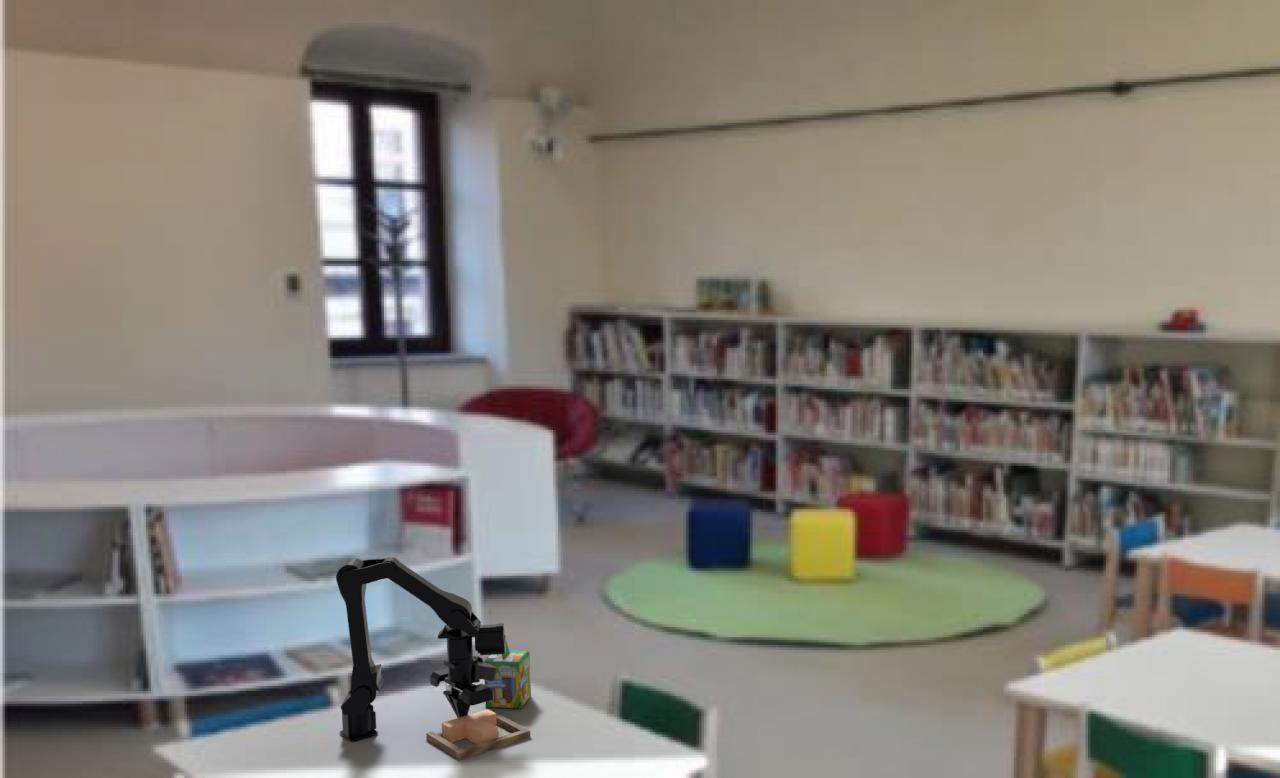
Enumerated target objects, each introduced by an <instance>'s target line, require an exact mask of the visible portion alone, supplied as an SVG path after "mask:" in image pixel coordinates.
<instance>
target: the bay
mask: <svg viewBox="0 0 1280 778" xmlns="http://www.w3.org/2000/svg"><path fill="white" fill-rule="evenodd" d="M494 713H496V723H497V725H498V724H499V725H498V726H500V727H502V728H504V729H506V730H507V731H509V732H511V733H508V734H505V735H502V736H498V738H496V739H493V740H489V741H486V742H483V743H480V744H474V745H471V746H467V747H464V748H461V747H460V746H457V745H456V744H454V743H453V742H452V743H451V742H449V741H448V740H446V739H444V738H443V737H442V735H440V734H438V733H436V732H434V731H432V730H430V731H429V732H426V734H425V735H426V739H425V740H427V741H428V742H430V743H431V744H433V745H435V746H436V747H438V748H439V749H441V750H442V751H444V752H446V753H447V754H449V755H450V756H451V757H454V758H455V759H457V760H459V761H462V760H464V759H468V758H470V757H473V756H476V755H480V754H483V753H486V752H489V751H492V750H495V749H498V748H502V747H504V746H507V745H511V744H513V743H517V742H520V741H523V740H526V738H527V739H530V738H531V730H530V729H528V728H526V727H524V726H522V725H520V724H519V723H517V722H515V721H512V720H511V719H509V718H508V717H506V716H504V715H502V714H500V713H498V712H496V711H495V712H494Z"/></svg>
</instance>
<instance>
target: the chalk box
mask: <svg viewBox="0 0 1280 778" xmlns="http://www.w3.org/2000/svg"><path fill="white" fill-rule="evenodd" d="M530 658H531V657H530V650H529V651H528V650H516V649H510V648H509V645H508V643H507V641H506V652H505V654H498V655H487V657H486V658H484V659H483V662H485V663H488V664H490V665H492V666H495V667H497V670H496V674H495V678H494V681H489V680H484V679H483V680H484V685H486V686H488V687H490V688H491V689H492V690H494V699H493V700H490V701H487V702H485V708H498V709H499V708H502V709H503V708H504V709H522V708H523V706H524V705H525V704H526V703H527V702H528V700H529V699H530V698H531V697H532V686H531V684H532V683H531V659H530Z"/></svg>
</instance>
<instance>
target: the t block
mask: <svg viewBox="0 0 1280 778" xmlns="http://www.w3.org/2000/svg"><path fill="white" fill-rule="evenodd" d="M496 713H497V712H496ZM496 713H495V712H494V711H492V710H491V709H488V708H487V709H484V710H481V711H477V712H473V713H470V714H468V715H467V716H463V717H460V718H457V717H456V718H455V719H450V720H448V721H443V722H442V723H441V737H443V738H444V739H446V740H448V741H449V742H451V743H452V744H453V743H454V742H457V741H461V740H463V739H467V740H469V741H471V742H472V743H474V744H475V745H477V744H480V743H483V742H486V741H489V740H493V739H496V738H499V728H498V726H497V725H498V724H497V723H496Z"/></svg>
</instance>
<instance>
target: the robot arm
mask: <svg viewBox="0 0 1280 778" xmlns="http://www.w3.org/2000/svg"><path fill="white" fill-rule="evenodd" d="M386 579H388V580H390V581H392V582H393V583H394V584H396V585H397V586H398V587H400V588H402V589H403V590H405V591H406V592H407V593H409V594H410V595H411V596H413V597H414V598H416V599H418V600H419V601H421V602H422V603H424V604H426V606H428V607H429V608H431V609H432V611H434V613H435V614H436V615H437V617H438V618H439V619H440V620H441V621H442V622H443V623H444V624H445V625H444V626H443V628H441V630H440V631H439V632H438V634H437V639H438V640H443V639H446V653H447V656H446V658H447V659H444V660H443V665H444V666H446V668H442V669H438V670H434V671H433V672H432V673H431V675H430V676H429V683H430V685H431V686H434V687H435V688H437V687H439V685H441V683H440V682H444V686H445V690H443V692H442V694H443V695H444V696H445V698H446V700H447V701H448V703H449V705H450V707H451V708H452V710H453V712H454V714H455V716H456V719H457V718H460V717H463V716H467V715H469V713H470V708H471V706H476V705H479V704H480V705H481V704H483V703H486V702H487V701H490V700H493V699H494V690H492V689H491V688H490V687H488V686H486V685H485V683H480V681H481V680H489V681H494V678H495V674H496V670H497V667H495V666H492V665H490V664H488V663H485V662H483V661H484V659H483V657H481V656H489V655H498V654H505V652H506V642H507V638H506V637H507V636H506V634H505V626H504V625H505V624H504V623H494V624H482V621H481V620H480V619H479V618H478V617H477V616H476V614H475V612H473V607H472V604H471V602H470V601H469V600H467V599H466V598H464V597H462V596H460V595H457V594H455V593H452V592H447V591H445V590H443V589H440V588H439V587H437V586H436V585H434V584H433V583H432V582H431V581H428V580H427V579H425V578H424V577H423V576H421V575H420V574H419V573H417V572H415V571H414V570H413V569H411V568H409V567H407V565H405V564H403V563H402V562H401V561H400V560H399V559H397V558H396V557H394V556H388V557H384V558H370V559H362V560H361V559H360V558H355V557H353V558H349V559H347V560H346V561H345V562H344V563H343V564H342V565H341V567H340V568H339V569H338V571H337V573H336V575H335V580H336V584H337V587H338V590H339V593H340V596H341V598H342V599H343V601H344V605H345V607H346V608H345V609H346V610H345V611H346V615H347V617H346V618H347V624H348V632H349V633H348V634H349V640H350V641H349V642H350V650H351V651H350V652H351V658H352V671H351V678H350V689H349V691H348V692H347V694H346V696H345V698H344V700H343V701H342V703H341V705H340V710H341V718H342V720H341V721H342V730H339V735H341V736H343V737H344V738H345V739H347V740H349V742H355V741H359V740H363V739H366V738H370V737H372V736H376V735H378V734H379V731H377V730H376V729H377V714H376V711H375V710H374V709H375V708H374V705H372V703H374V701H375V700H376V698H377V695H378V693H379V691H380V689H381V687H382V685H383V683H384V678H383V676H382V663H381V664H380V663H379V664H375V662H374V661H373V658H372V657H373V656H372V649H371V641H370V631H369V623H368V616H367V608H366V601H365V600H366V599H365V598H366V590H367V584H370V583H373V582H374V583H375V582H377V581H381V580H386ZM473 638H474V645H473ZM473 646H474V648H473ZM473 650H475V652H477V654H479V656H478V655H474V651H473ZM474 683H475V684H474ZM477 683H479V684H477Z"/></svg>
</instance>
